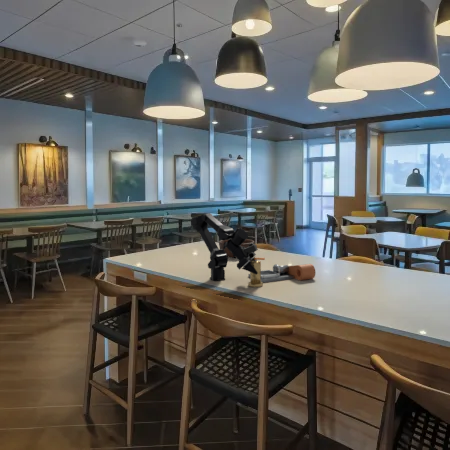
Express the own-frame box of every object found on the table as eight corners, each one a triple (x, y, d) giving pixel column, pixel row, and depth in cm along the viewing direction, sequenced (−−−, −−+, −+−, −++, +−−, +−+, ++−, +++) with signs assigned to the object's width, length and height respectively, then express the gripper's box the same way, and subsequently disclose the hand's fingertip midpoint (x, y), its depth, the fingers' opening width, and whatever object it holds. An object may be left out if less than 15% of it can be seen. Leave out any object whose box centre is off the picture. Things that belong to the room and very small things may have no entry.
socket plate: (261, 282, 196) (261, 269, 195) (248, 276, 208) (248, 264, 208) (294, 278, 204) (294, 265, 203) (279, 273, 217) (279, 260, 216)
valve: (246, 286, 189) (246, 258, 187) (250, 283, 195) (250, 256, 194) (263, 287, 186) (263, 259, 185) (265, 284, 193) (265, 256, 192)
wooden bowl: (244, 260, 254) (244, 245, 253) (212, 257, 266) (212, 242, 265) (260, 254, 275) (260, 240, 274) (230, 251, 288) (229, 237, 287)
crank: (315, 280, 201) (315, 265, 200) (303, 282, 198) (303, 266, 197) (292, 272, 219) (292, 258, 218) (281, 273, 215) (281, 260, 215)
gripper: (243, 241, 181) (266, 265, 179) (251, 236, 198) (272, 258, 196) (227, 257, 184) (249, 281, 182) (237, 250, 202) (257, 272, 200)
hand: (258, 272), depth 190 cm, fingers closed on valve, 5 cm apart
